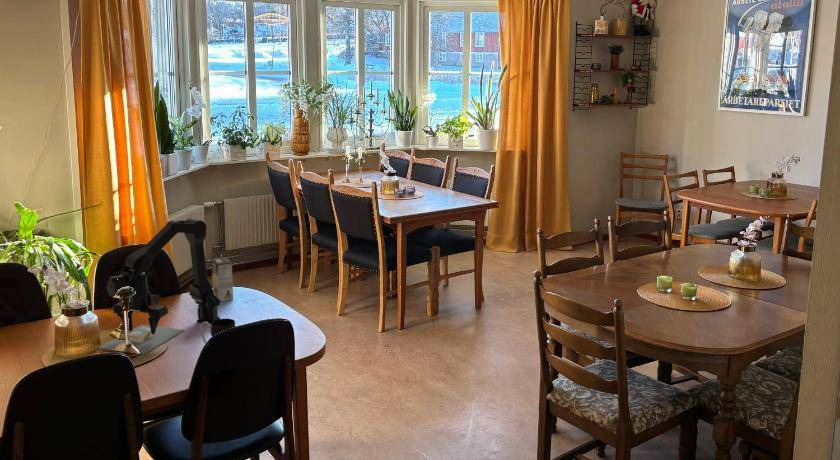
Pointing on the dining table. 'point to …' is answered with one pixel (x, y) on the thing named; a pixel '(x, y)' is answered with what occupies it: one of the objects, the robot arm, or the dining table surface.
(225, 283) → the coffee box
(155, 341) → the grey rectangular board
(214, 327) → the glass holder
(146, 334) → the framed mirror
